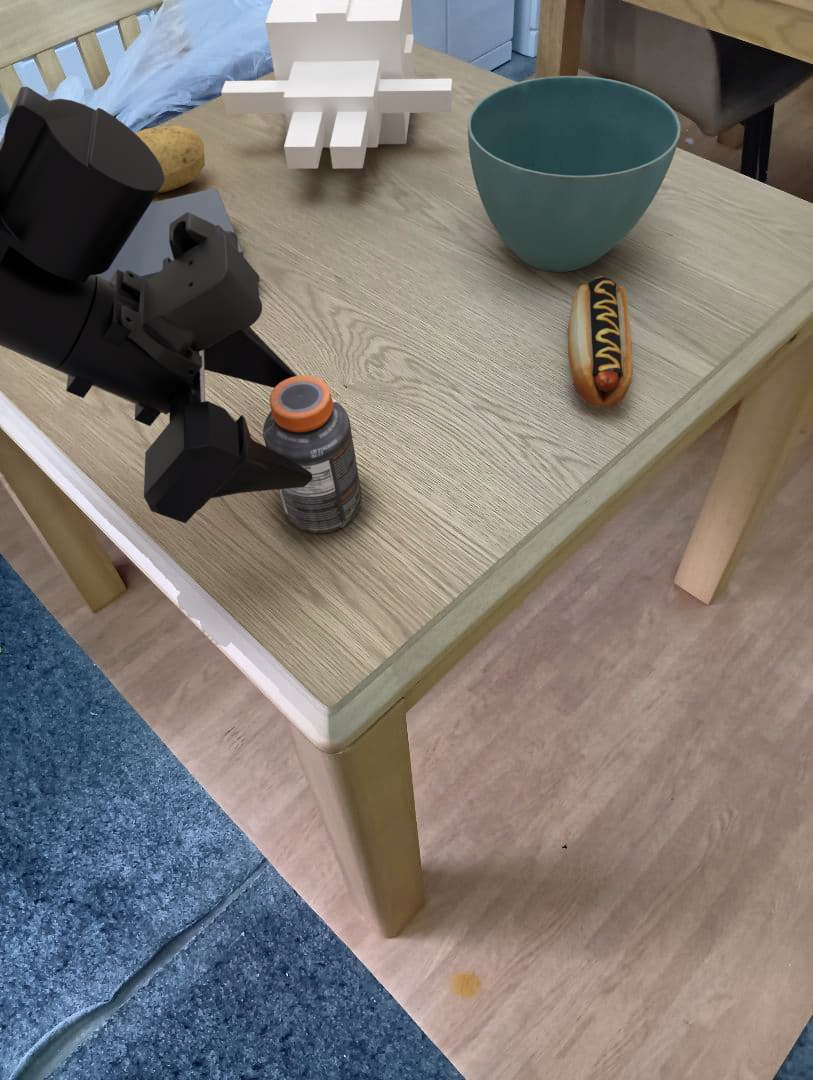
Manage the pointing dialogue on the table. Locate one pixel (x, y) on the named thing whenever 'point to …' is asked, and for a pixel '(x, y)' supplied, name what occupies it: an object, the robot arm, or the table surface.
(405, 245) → the table surface
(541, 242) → the teal bowl
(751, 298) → the table surface
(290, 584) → the table surface
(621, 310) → the hot dog
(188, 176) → the potato
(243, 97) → the white voxel figure
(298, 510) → the pill bottle
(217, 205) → the blue lidded box
